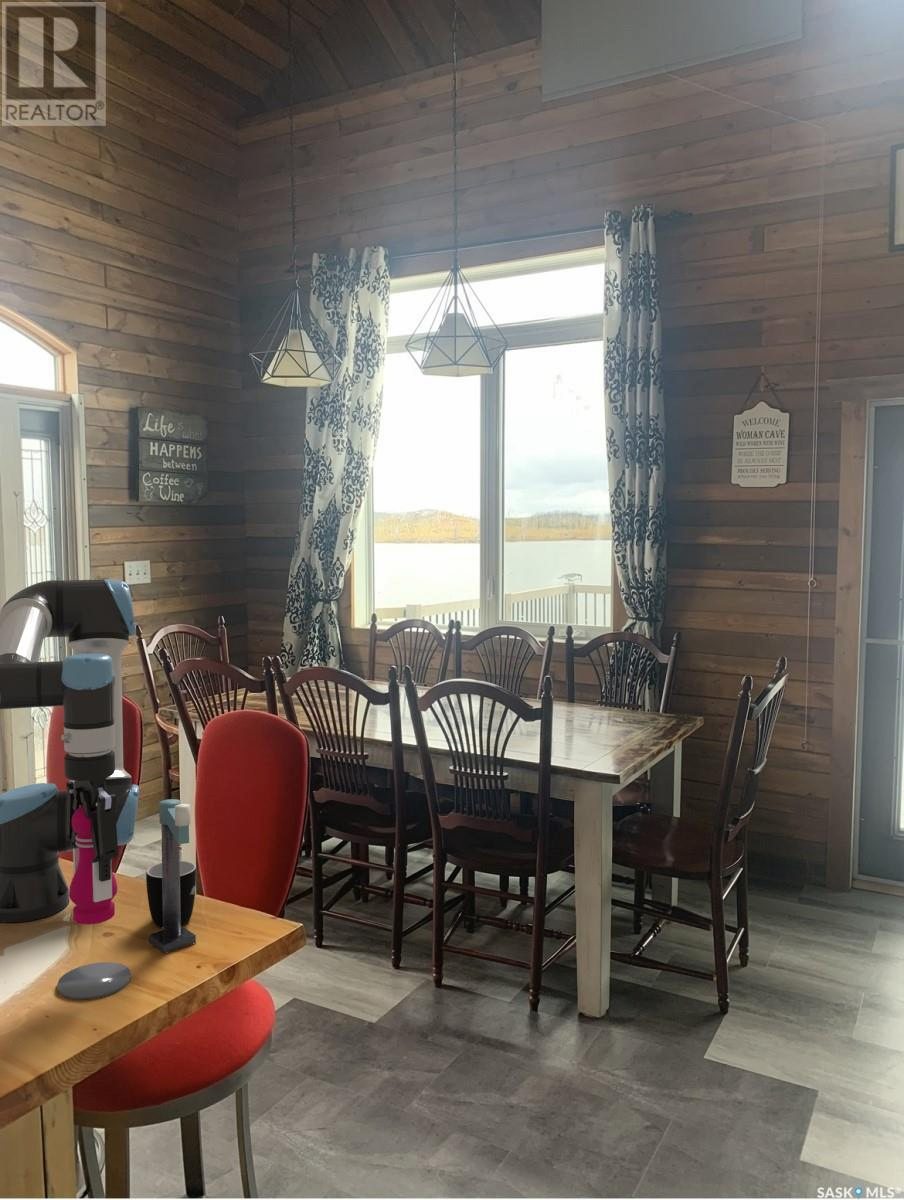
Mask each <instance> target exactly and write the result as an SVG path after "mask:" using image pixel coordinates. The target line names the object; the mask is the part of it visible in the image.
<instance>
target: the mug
mask: <svg viewBox="0 0 904 1200" xmlns="http://www.w3.org/2000/svg"><path fill="white" fill-rule="evenodd" d="M145 878H146V879H145V881H146V882H145V883H146V893H147V901H148V908H149V913H150V916H151V920H152V922H153V923H154V925H155V926H156V927H158V928H161V927H163V892H162V862H158V863H155V864H153V865H151V866H149V867H148V868H147V870H146V871H145ZM196 887H197V865H196V864H194V863H193V862H190V861H188V860H180V912H181V925H182V926H185V925H186V924H187V923H189V921H190V920H191V918H192V915H193V911H194V907H195V906H194V905H195V898H196V897H195V896H196Z"/></svg>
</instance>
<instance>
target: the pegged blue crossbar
mask: <svg viewBox="0 0 904 1200" xmlns="http://www.w3.org/2000/svg"><path fill="white" fill-rule="evenodd" d="M158 803H159V804H158V808H159V809H158V812H159V815H158V816H159V819H158V820H159V824H160V825H161V824H163V825H168V827H169V829H170V830H171V832H172V834H173V835H174V837H175V838H176V840H177V842H178V843H179V845H184V844H190V825H191V805H190V804H188V803H181V800H180V799H175V798H174V799H173V798H171V799H170V798H169V799H164V800H161V801H159V802H158Z"/></svg>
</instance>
